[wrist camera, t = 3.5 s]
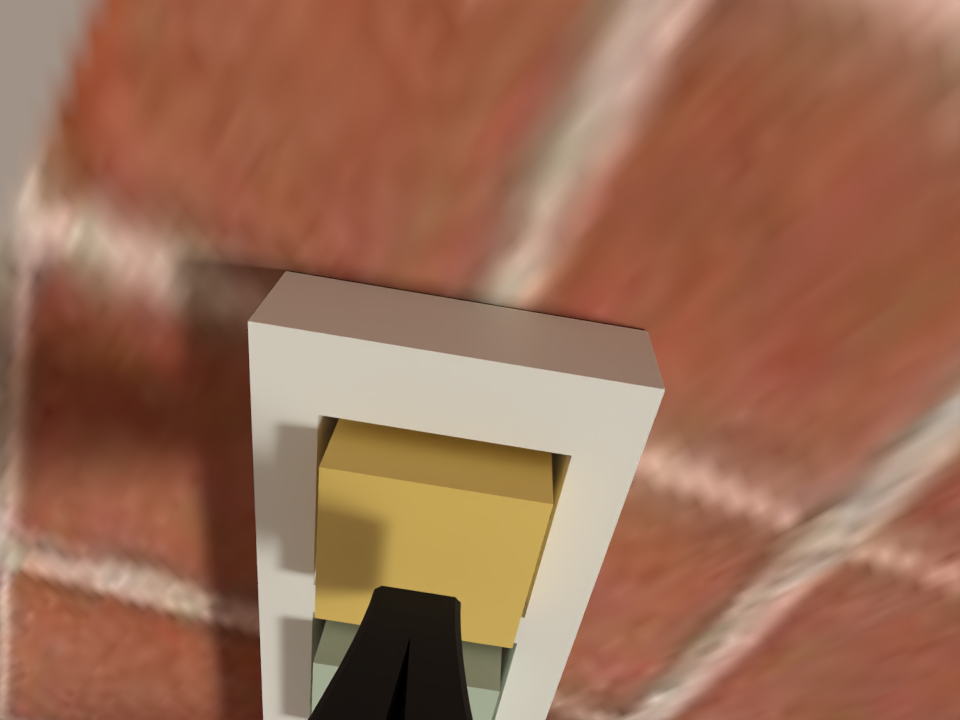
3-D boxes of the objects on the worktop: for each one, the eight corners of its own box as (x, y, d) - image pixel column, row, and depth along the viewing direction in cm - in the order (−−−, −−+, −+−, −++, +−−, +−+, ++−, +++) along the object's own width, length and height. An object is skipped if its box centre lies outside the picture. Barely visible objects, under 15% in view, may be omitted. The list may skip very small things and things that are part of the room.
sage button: (478, 714, 18) (472, 785, 16) (329, 691, 18) (310, 761, 16) (502, 618, 16) (500, 691, 14) (334, 593, 16) (313, 662, 14)
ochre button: (514, 576, 15) (512, 648, 13) (337, 548, 15) (314, 618, 13) (550, 438, 13) (553, 504, 11) (344, 405, 13) (318, 467, 11)
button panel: (491, 809, 23) (488, 878, 21) (287, 778, 23) (267, 845, 21) (647, 330, 13) (665, 389, 11) (286, 270, 13) (247, 320, 11)
